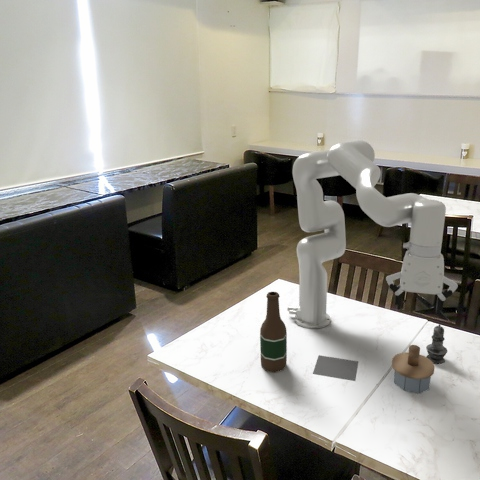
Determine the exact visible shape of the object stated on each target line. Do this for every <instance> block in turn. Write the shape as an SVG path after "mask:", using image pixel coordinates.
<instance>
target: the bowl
mask: <svg viewBox="0 0 480 480" xmlns="http://www.w3.org/2000/svg"><path fill="white" fill-rule="evenodd" d="M393 375H394V376H393V383H394V384H395V385H396V386H398V387H399V388H400V389H401V390H403V391H406V392H409V393H414V394H418V395H419V394H422V393H424V392H427V391H429V390H430V387H431V378H432V376H431V377H429V378H426V379H412V378H408V377H405V376H402V375H400V374H399V373H397V372H396V371H395V370H394V374H393Z"/></svg>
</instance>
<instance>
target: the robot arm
mask: <svg viewBox="0 0 480 480" xmlns="http://www.w3.org/2000/svg"><path fill="white" fill-rule="evenodd" d="M375 154H376V153H375V150H374V148H373V146H372V145H371V144H370V143H369V142H367V141H364V140H355V141H353V140H352V141H343V142H339V143H336V144H334V145H332V146H331V148H329V149H326V150H317V151H310V152H306V153H304V154H301V155H300V156H298V157H297V158H296V159H295V161H294V162H293V165H292V178H293V183H294V186H295V189H296V195H297V196H296V200H297V211H298V212H297V214H298V221H299V222H298V223H299V226H300V228H301V230H302V231H304V232H305V233H316V232H321V231H324V232H321V233H317V234H314V235H309V236H306V237H304V238H302V239H301V240H299V242H298V243H297V245H296V256H297V261H298V267H299V268H298V272H299V286H298V287H299V292H298V295H299V297H298V299H299V300H298V302H299V303H298V305H299V306H298V305H296V306H291V305H288V306H287V311H288V312H289V315H295V316H294V322H295V323H296V324H297V325H298V326H300V327H303V328H305V329H310V330H311V329H313V330H314V329H322V328H323V329H324V328H326V327H327V326H328V325H330V323H331V317H330V314H328V313H327V304H328V303H327V298H328V295H327V294H328V293H327V292H328V273H327V270H326V268H325V267H324V266H323V263H324V262H325V263H326V262H327V261H331V260H335V259H338V258H340V257H342V256H343V255H344V254H345V252H346V248H347V246H346V245H347V240H346V224H345V213H344V210H343V208H342V205H340V203H338V202H337V201H335V200H325V201H324V192H323V188H322V185H321V184H320V183H319V181H318V180H319V179H324V178H330V177H331V178H332V177H337V176H341V177H342V178H343V179H344V180H346V182H348V183H349V184H350V185H351V187H353V188H354V189H355V190H356V191H355V192H356V193H355V195H356V199H357V203H358V205H359V207H360V209H361V210H362V212H364V214H366V215H367V216H368V217H369V218H370V219H371V220H373V221H374V222H375V224H377V225H380V226H381V227H386V228H391V227H395V226H398V225H403V224H404V225H405V224H409V223H411V224H410V232H409V233H410V235H409V241H408V242H403V245H402V249H407V250H406V251H405V254H404V257H403V261H402V265H401V271H398V272H396V273H392V274H390V275H389V274H388V275H387V276H386V277H385V281H386V282H387V284H388V287H389V289H390V290H391V291H392V292H393V293H394V295H395V297H394V299H395V300H394V305H395V306H397V310H401V304H402V293H403V292H406V293H413V294H414V293H416V294H425V295H433V296H436V295H437V297H436V305H435V313H436V315H440V314H441V312H440V311H443V309H444V301H446V299H447V298H450V297H451V296H452V295H453V293H454V292H456V290H457V289H458V287H459V285H458V283H457V282H455V281H453V280H452V279H450V278H448V277H447V276H445V261H444V260H445V258H444V255H443V254H442V253H441V251H442V245H443V244H442V243H443V236H444V228H445V220H446V212H447V211H446V210H447V207H446V205H445V203H443V202H442V201H439V200H437V199H436V200H435V199H429V198H426V197H424V196H422V195H421V194H420V195H419V194H418V193H414V192H410V193H403V194H397V195H392V196H387V197H386V196H385V195H383V194H382V193H381V192H379V191H378V189H376V187H375V186H376V184H378V182H379V180H380V178H381V174H382V173H381V168H380V167H379V166H378V165H377V164H376V163H374V161H375V156H376V155H375ZM317 179H318V180H317ZM395 280H399V284H398V285H396V284H395V283H394V281H395ZM444 284H445V285H447V286H449V287H448V288H447V289H446V290H443V288H444Z"/></svg>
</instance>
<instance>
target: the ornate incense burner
mask: <svg viewBox="0 0 480 480" xmlns="http://www.w3.org/2000/svg"><path fill="white" fill-rule="evenodd" d="M444 335H445V328H444V327H443V326H442V325H441V324H440V323H439V324H438V325H436V326H434V328H433V334H432V335H431V340H432V341H431V343H430V344H427V345H426V347H425V348H426V353H427V355H426V356H425V357H427V358H428V359H430V360H431V361H432V362H433V364H434V365H443V364H445V363H446V358H445V356H446V355H447V353H448V349H447V347H445V346H444V341H445V340H446V339H445V336H444Z"/></svg>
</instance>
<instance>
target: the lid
mask: <svg viewBox="0 0 480 480" xmlns="http://www.w3.org/2000/svg"><path fill="white" fill-rule="evenodd" d="M420 352H421V348H420V346H419V345H416V344H410V345H409V346H408V352H399V353H397V354H395V355H394V356H393V357H392V359H391V367H392V369H393V371H394V372H395V371H396V372H397V373H399V374H400V375H402V376H405V377H408V378H412V379H426V378H429V377H431V378H432V376H433V375H434V374H435V368H436V366H435V364H433V362H432V361H431V360H430V359H428V358H427V357H426V356H425V355H422V354H420Z"/></svg>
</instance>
